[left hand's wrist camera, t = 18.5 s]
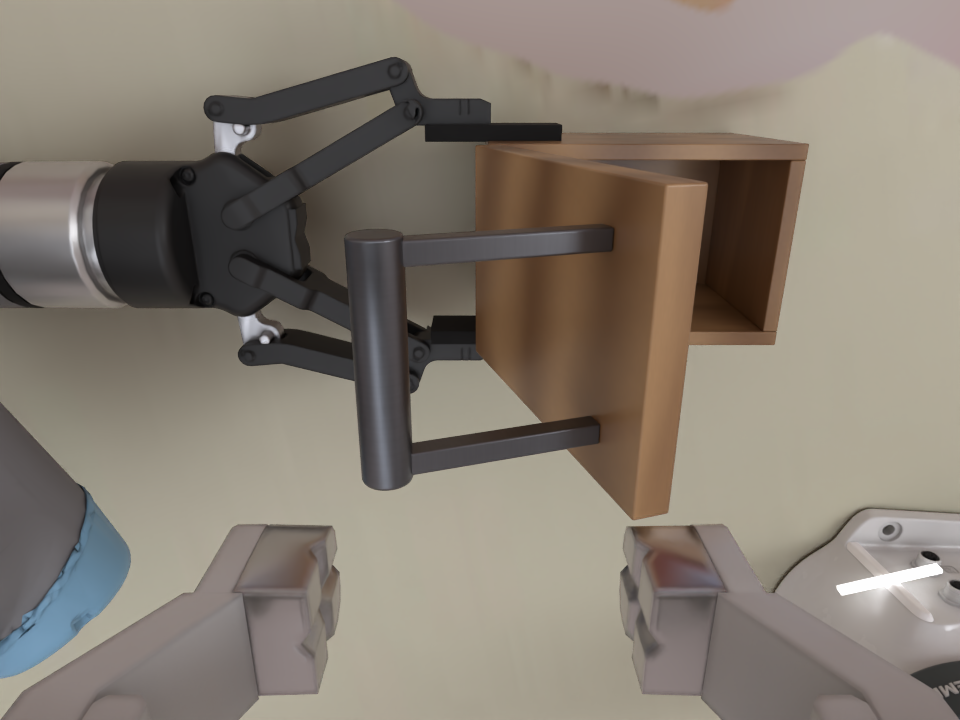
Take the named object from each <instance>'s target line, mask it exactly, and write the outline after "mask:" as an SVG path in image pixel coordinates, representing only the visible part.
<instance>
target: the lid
mask: <svg viewBox="0 0 960 720" xmlns="http://www.w3.org/2000/svg"><path fill="white" fill-rule="evenodd" d="M475 176H476V231H473V232H456V233H440V234H424V235H407V236H403V234H402V233H401V232H398V231H395V230H388V229H366V230H358V231H353V232H350V233H348V234H346V235H345V238H344V242H345V255H346V269H347V282H348V296H349V309H350V323H351V336H352V350H353V363H354V377H355V390H356V404H357V417H358V431H359V444H360V458H361V471H362V480H363V482H364V483H365V485H367V486H368V487H370V488H372V489H375V490H382V491H387V490H395V489H398V488H401V487H403V486H405V485H407V484H408V483H409V482H410V481H411V480H412V477H413V475H415V474H421V473H427V472H433V471H439V470H445V469H451V468H457V467H463V466H469V465H475V464H480V463H486V462H492V461H498V460H504V459H510V458H516V457H522V456H528V455H534V454H540V453H546V452H551V451H557V450H563V449H567V450H568V451H569V452H570V453H571V454H572V455H573V456H574V458H575V459H576V460H577V461H578V462H579V463H580V464H581V465H582V466H583V467H584V468H585V469H586V470H587V472H588V473H589V474H590V475H591V476H592V477H593V478H594V479H595V480H596V481H597V482H598V483H599V485H600V486H601V487H602V488H603V489H604V490H605V491H606V492H607V493H608V494H609V495H610V496H611V498H612V499H613V500H614V501H615V502H616V503H617V504H618V505H619V506H620V507H621V508H622V509H623V510H624V512H625V513H626V514H627V515H628V516H629V517H630V518H631V519H632V520H637V519H642V518H647V517H652V516H657V515H661V514H666V513H668V510H669V502H670V494H671V485H672V477H673V469H674V461H675V453H676V444H677V436H678V428H679V420H680V412H681V403H682V395H683V387H684V379H685V371H686V362H687V354H688V346H689V338H690V330H691V321H692V313H693V305H694V297H695V289H696V280H697V272H698V264H699V256H700V248H701V239H702V231H703V223H704V215H705V206H706V198H707V190H708V183H706V182H703V181H698V180H692V179H687V178H681V177H676V176H670V175H665V174H659V173H654V172H648V171H643V170H637V169H632V168H626V167H621V166H615V165H610V164H604V163H599V162H593V161H588V160H582V159H577V158H571V157H566V156H560V155H555V154H549V153H544V152H538V151H533V150H527V149H522V148H516V147H511V146H505V145H476V147H475ZM467 262H476V352H477V353H478V354H479V355H480V356H481V357H482V358H483V359H484V360H485V361H486V362H487V363H488V365H489V366H490V367H491V368H492V369H493V370H494V371H495V372H496V373H497V374H498V375H499V376H500V378H501V379H502V380H503V381H504V382H505V383H506V384H507V385H508V386H509V387H510V388H511V389H512V391H513V392H514V393H515V394H516V395H517V396H518V397H519V398H520V399H521V400H522V401H523V402H524V403H525V405H526V406H527V407H528V408H529V409H530V410H531V411H532V412H533V413H534V414H535V415H536V416H537V418H538V419H539V420H540V421H541V422H542V423H539V424H532V425H526V426H519V427H513V428H507V429H500V430H494V431H487V432H481V433H474V434H468V435H461V436H455V437H448V438H442V439H435V440H429V441H422V442H416V443H412V427H411V403H410V379H409V355H408V331H407V307H406V283H405V267H414V266H427V265H440V264H453V263H467Z"/></svg>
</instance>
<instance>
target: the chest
mask: <svg viewBox="0 0 960 720" xmlns="http://www.w3.org/2000/svg"><path fill="white" fill-rule="evenodd" d="M486 145H505V146H511V147H516V148H522V149H527V150H533V151H538V152H544V153H549V154H555V155H560V156H566V157H571V158H577V159H582V160H588V161H593V162H599V163H604V164H610V165H615V166H621V167H626V168H632V169H637V170H643V171H648V172H654V173H659V174H665V175H670V176H676V177H681V178H687V179H692V180H698V181H703V182H706V183H708V190H707V198H706V206H705V215H704V223H703V231H702V239H701V248H700V256H699V264H698V272H697V280H696V289H695V297H694V305H693V313H692V321H691V330H690V338H689V345H774V344H775V339H776V333H777V332H776V331H777V327H778V321H779V315H780V309H781V303H782V297H783V292H784V286H785V280H786V274H787V268H788V263H789V257H790V251H791V245H792V239H793V233H794V228H795V222H796V216H797V210H798V204H799V198H800V193H801V187H802V181H803V175H804V169H805V164H806V161H805V160H806V159H807V153H808V147H809V144H805V143H798V142H791V141H784V140H777V139H770V138H763V137H756V136H749V135H741V134H734V133H562V140H561V141H488V142H486Z"/></svg>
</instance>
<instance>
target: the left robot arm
mask: <svg viewBox="0 0 960 720" xmlns="http://www.w3.org/2000/svg"><path fill="white" fill-rule="evenodd" d="M887 525H888V526H887ZM885 526H887V527H886V528H884V527H885ZM883 528H884V529H883ZM336 551H337V543H336V535H335V530H334V528H333V527H332V526H321V525H274V524H270V525H267V524H238V525H236V526H234V527H233V528H232V529H231V530H230V532H229V533H228V535H227V537H226V538H225V540H224V542H223V544H222V545H221V547H220V549H219V550H218V552H217V554H216V555H215V557H214V559H213V561H212V562H211V564H210V566H209V567H208V569H207V571H206V572H205V574H204V576H203V578H202V579H201V581H200V583H199V584H198V586H197V588H196V590H195V591H194V593H183V594H181V595H180V596H178V597H176V598H175V599H173V600H171V601H170V602H168V603H166V604H165V605H163V606H162V607H160V608H158V609H157V610H155V611H153V612H152V613H150V614H148V615H147V616H145V617H144V618H142V619H140V620H139V621H137V622H135V623H134V624H132V625H131V626H129V627H127V628H126V629H124V630H122V631H121V632H119V633H117V634H116V635H114V636H113V637H111V638H109V639H108V640H106V641H104V642H103V643H101V644H100V645H98V646H96V647H95V648H93V649H91V650H90V651H88V652H86V653H85V654H83V655H82V656H80V657H78V658H77V659H75V660H73V661H72V662H70V663H69V664H67V665H65V666H64V667H62V668H60V669H59V670H57V671H55V672H54V673H52V674H51V675H49V676H47V677H46V678H44V679H42V680H41V681H39V682H37V683H36V684H34V685H33V686H31V687H29V688H28V689H26V690H24V691H23V692H22V693H21V694H20V695H19V697H18V698H17V699H16V701H15V702H14V703H13V704H12V706H11V707H10V708H9V710H8V711H7V712H6V713H5V715H4V716H3V717H2V719H1V720H239V719H240V718H241V717H242V716H243V715H244V714H245V713H246V712H247V711H248V709H249V708H250V707H251V706H252V705H253V704H254V703H255V702H256V701H257V700H258V699H259V698H258V696H263V695H297V694H318V692H319V688H320V685H321V681H322V678H323V674H324V670H325V667H326V663H327V660H328V651H327V640H328V639H330V638H331V637H332V636H333V635H334V634H335V630H336V626H337V622H338V617H339V608H340V590H341V585H340V573H339V571H338V570H337V569H336V568H335V567H334V566H333V565H332V564H333V561H334V558H335V554H336ZM623 551H624V554H625V558H626V561H627V564H628V565H627V566H626V567H625V568H624V569H623V570H622V571H621V573H620V588H619V593H620V611H621V617H622V622H623V626H624V630H625V634H626V635H627V636H628V637H629V638H630V639H632V640H633V651H632V660H633V663H634V667H635V670H636V674H637V677H638V681H639V684H640V688H641V692H642V694H661V695H697V696H701V699H702V700H703V701H704V702H705V703H706V704H707V705H708V706H709V707H710V708H711V709H712V710H713V711H714V712H715V713H716V714H717V715H718V716H719V717H720V718H721V719H722V720H960V514H955V513H939V512H922V511H905V510H889V509H866V510H863V511H861V512H859V513H857V514H856V515H855V516H854V517H853V518H852V519H851V520H850V521H849V522H848V523H847V524H846V525H845V526H844V528H843V529H842V530H841V531H840V532H839V534H838V535H837V536H836V538H835V539H833V540H832V541H831V542H830V543H828V544H827V545H825V546H824V547H822V548H821V549H819V550H817V551H816V552H814V553H813V554H811V555H809V556H808V557H807V558H805V559H804V560H803V561H801V562H800V563H799V564H798V565H797V566H795V567H794V568H793V569H792V570H791V571H790V572H789V573H788V574H787V576H786V577H785V578H784V579H783V580H782V582H781V583H780V584H779V586H778V588H777V589H776V591H775V593H766V591H765V590H764V588H763V586H762V585H761V583H760V581H759V579H758V578H757V576H756V574H755V573H754V571H753V569H752V568H751V566H750V564H749V563H748V561H747V559H746V558H745V556H744V554H743V553H742V551H741V549H740V547H739V546H738V544H737V542H736V541H735V539H734V537H733V536H732V534H731V532H730V531H729V529H728V527H726V526H725V525H723V524H703V525H690V526H628V527H626V530H625V534H624V542H623Z"/></svg>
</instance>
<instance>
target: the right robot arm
mask: <svg viewBox="0 0 960 720" xmlns="http://www.w3.org/2000/svg"><path fill="white" fill-rule="evenodd" d="M387 90H390V92H391V95H392V97H393V100H394V103H395V106H394V107H392V108H390V109H389V110H387V111H386V112H384V113H382V114H381V115H379V116H377V117H376V118H374V119H372V120H371V121H369V122H367V123H366V124H364V125H362V126H361V127H359V128H357V129H356V130H354V131H352V132H351V133H349V134H347V135H346V136H344V137H342V138H341V139H339V140H337V141H336V142H334V143H332V144H331V145H329V146H327V147H326V148H324V149H322V150H321V151H319V152H317V153H316V154H314V155H312V156H311V157H309V158H307V159H306V160H304V161H302V162H301V163H299V164H297V165H296V166H294V167H292V168H290V169H288V170H286V171H285V172H283V173H281V174H280V175H278V176H276V177H275V176H274V175H272V174H271V173H269V172H268V171H266V170H265V169H263V168H262V167H261V166H259V165H258V164H256V163H255V162H253V161H252V160H250V159H249V158H247V157H246V156H245V155H243V154H241V148H242V146H243V144H244V143H245V142H247V141H249V140H254V139H256V138H258V137H259V136H260V134H261V130H262V124H267V123H275V122H280V121H284V120H288V119H291V118H295V117H298V116H302V115H305V114H308V113H312V112H315V111H319V110H322V109H326V108H329V107H332V106H336V105H339V104H343V103H346V102H350V101H353V100H356V99H360V98H363V97H367V96H370V95H374V94H377V93H380V92H384V91H387ZM204 112H205V114H206V116H207V117H208V118H209V119H210V120H212V121H213V125H214V143H215V153H213V154H211V155H210V156H208V157H207V158H205V159H203V160H201V161H122V162H119V163H117V164H115V165H113V164H111V163H108V162H106V161H24V162H10V163H0V308H29V307H30V308H122V307H124V306H127V305H130V306H132V307H135V308H218V309H221V310H224V311H226V312H228V313H230V314H232V315H235V316H237V317H238V321H239V326H240V330H241V335H242V339H243V344H244V345H243V346H242V347H241V348H240V349H239V352H238V357H239V360H240V361H241V362H242V363H243V364H245V365H247V366H258V365H270V364H286V365H290V366H294V367H298V368H302V369H307V370H311V371H315V372H319V373H323V374H327V375H331V376H336V377H340V378H344V379H348V380H352V381H355V377H354V363H353V350H352V343H351V342H347V341H343V340H339V339H335V338H331V337H327V336H323V335H319V334H315V333H311V332H307V331H302V330H297V329H284V328H283V326H282V325H281V323H280V322H278V321H275V320H269V319H267V318H265V317H264V316H263V315H262V313H261V311H260V310H261V309H262V308H263V307H265V306H266V305H267V304H269V303H270V302H271V301H272V300H274V299H275V298H279V299H281V300H283V301H285V302H287V303H289V304H291V305H293V306H295V307H297V308H299V309H302V310H310V311H313V312H315V313H317V314H319V315H321V316H323V317H325V318H327V319H329V320H331V321H333V322H335V323H337V324H339V325H341V326H343V327H345V328H347V329H349V330H351V323H350V309H349V296H348V289H347V288H345V287H343V286H341V285H339V284H337V283H335V282H333V281H331V280H330V279H328V278H327V277H326V275H325V274H323V273H322V272H320V271H318V270H316V269H314V268H312V267H310V266H308V263H309V262H310V261H311V257H310V247H309V244H308V241H307V239H306V236H305V233H304V231H305V225H306V219H307V214H306V204H305V203H302V201H301V199H300V197H299V196H298V195H299V194H301V193H303V192H304V191H306V190H308V189H309V188H311V187H313V186H315V185H316V184H318V183H319V182H321V181H323V180H324V179H326V178H328V177H330V176H331V175H333V174H335V173H336V172H338V171H340V170H341V169H343V168H345V167H346V166H348V165H350V164H352V163H353V162H355V161H357V160H358V159H360V158H362V157H363V156H365V155H367V154H368V153H370V152H372V151H374V150H375V149H377V148H379V147H380V146H382V145H384V144H385V143H387V142H389V141H390V140H392V139H394V138H396V137H397V136H399V135H401V134H402V133H404V132H406V131H407V130H409V129H411V128H412V127H414V126H416V125H425V142H488V141H561V140H562V125H561V124H557V123H491V103H489V102H487V101H484V100H482V99H432V98H428V97H426V96H424V95H423V94H422V93H421V92H420V90H419V88H418V86H417V83H416V81H415V78H414V75H413V73H412V68H411V66H410V65H409V64H408V63H407V62H406V61H404V60H402V59H400V58H397V57H391V58H387V59H384V60H381V61H377V62H374V63H370V64H367V65H364V66H360V67H357V68H354V69H350V70H347V71H343V72H340V73H337V74H333V75H330V76H327V77H323V78H320V79H316V80H313V81H310V82H306V83H303V84H300V85H296V86H293V87H289V88H286V89H283V90H279V91H276V92H273V93H269V94H266V95H262V96H259V97H256V98H254V97H243V96H231V95H214V96H210V97H208V98H207V99H206V101H205V102H204ZM407 331H408V355H409V379H410V393H414V392H415V391H416V390H417V389H418V387H419V382H420V380H421V377H422V374H423V371H424V369H425V367H426V365H427V364H428V363H430V362H432V361H436V360H482V359H483V358H482V357H481V356H480V355H479V354H478V353H477V352H476V316H434V317H433V322H432V326H431V327H430V326H427V329H425V328H423V327H421V326H419V325H418V324H416V323H414V322H412V321H410V320H408V319H407ZM130 563H131V557H130V551H129V548H128V546H127V544H126V542H125V541H124V540H123V538H122V537H121V536H120V534H119V533H118V532H117V531H116V529H115V528H114V527H113V525H112V524H111V523H110V521H109V520H108V519H107V518H106V516H105V515H104V514H103V512H102V511H101V510H100V508H99V507H98V506H97V505H96V503H95V502H94V501H93V498H92V496H91V495H90V493H89V492H88V491H87V490H86V489H85V487H83V486H81V485H79V484H78V483H76V482H75V481H74V480H73V479H72V478H71V477H70V476H69V475H68V474H67V473H66V472H65V470H64V469H63V468H62V467H61V466H60V465H59V464H58V463H57V462H56V461H55V460H54V459H53V458H52V457H51V456H50V455H49V453H48V452H47V451H46V450H45V449H44V448H43V447H42V446H41V445H40V444H39V443H38V442H37V441H36V440H35V439H34V438H33V436H32V435H31V434H30V433H29V432H28V431H27V430H26V429H25V428H24V427H23V426H22V425H21V424H20V423H19V422H18V421H17V419H16V418H15V417H14V416H13V415H12V414H11V413H10V412H9V411H8V410H7V409H6V408H5V407H4V406H3V405H2V404H1V402H0V678H6V677H11V676H14V675H17V674H20V673H22V672H24V671H26V670H28V669H30V668H32V667H34V666H35V665H37V664H39V663H40V662H42V661H43V660H45V659H46V658H48V657H49V656H51V655H52V654H54V653H55V652H56V651H58V650H59V649H60V648H62V647H63V646H64V645H65V644H67V643H68V642H69V641H70V640H71V639H73V638H74V637H75V636H76V635H77V634H78V632H79V631H80V630H81V628H82V627H83V626H84V625H85V624H87V623H88V622H89V621H90V620H91V619H93V618H94V617H96V616H98V615H99V614H100V613H101V612H102V610H103V609H104V608H105V607H106V606H107V605H108V604H109V602H110V601H111V600H112V599H113V597H114V596H115V595H116V593H117V592H118V591H119V589H120V588H121V586H122V584H123V583H124V581H125V579H126V577H127V574H128V571H129V568H130Z"/></svg>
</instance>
